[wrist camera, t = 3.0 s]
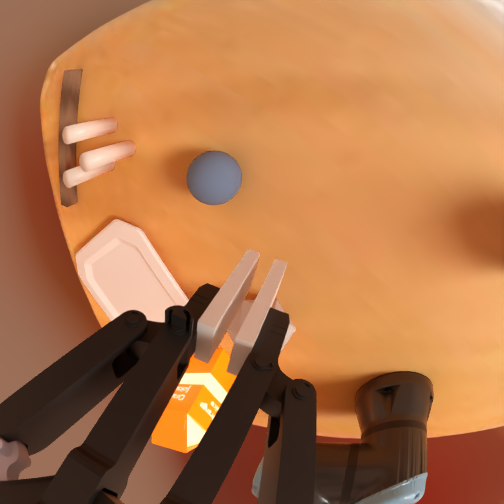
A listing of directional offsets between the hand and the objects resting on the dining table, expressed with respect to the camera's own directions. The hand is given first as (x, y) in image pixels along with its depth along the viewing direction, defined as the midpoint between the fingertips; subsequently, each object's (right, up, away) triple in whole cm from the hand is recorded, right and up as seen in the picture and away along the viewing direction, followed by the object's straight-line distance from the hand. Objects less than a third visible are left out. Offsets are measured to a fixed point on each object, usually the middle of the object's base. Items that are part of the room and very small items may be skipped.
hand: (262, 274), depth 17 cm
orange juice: (-8, -20, +34) cm, 40 cm away
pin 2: (-22, +15, +20) cm, 33 cm away
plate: (-22, -6, +32) cm, 39 cm away
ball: (-5, +9, +13) cm, 16 cm away
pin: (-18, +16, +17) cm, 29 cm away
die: (+2, -7, +23) cm, 25 cm away
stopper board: (-31, +21, +20) cm, 42 cm away
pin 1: (-21, +20, +16) cm, 33 cm away
